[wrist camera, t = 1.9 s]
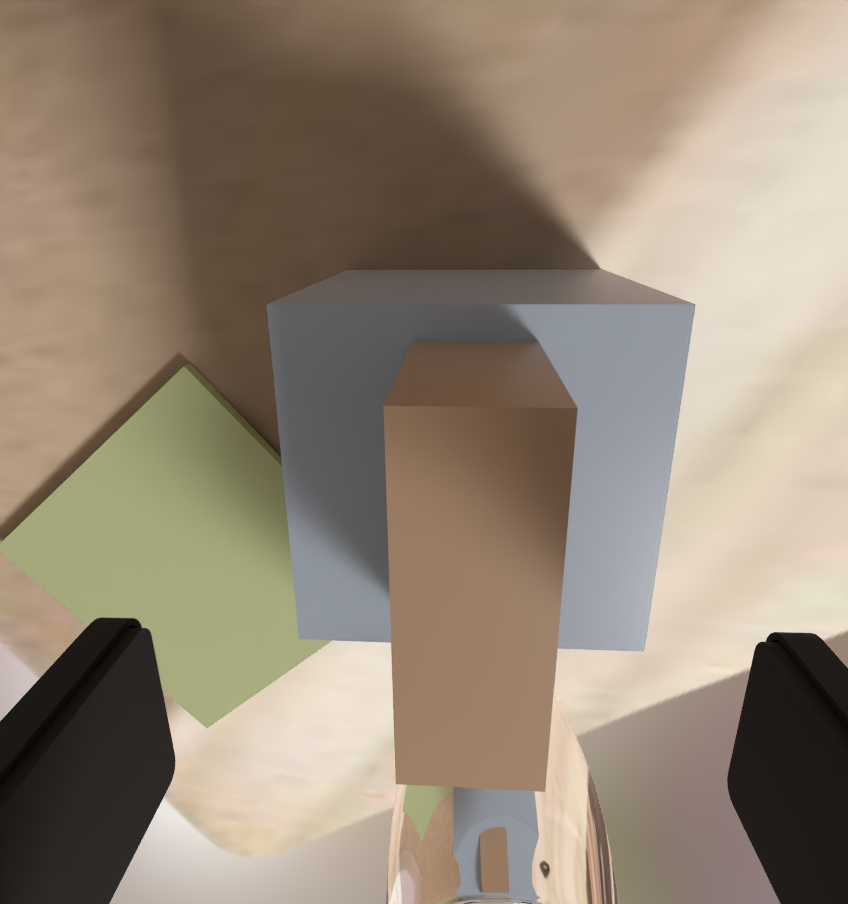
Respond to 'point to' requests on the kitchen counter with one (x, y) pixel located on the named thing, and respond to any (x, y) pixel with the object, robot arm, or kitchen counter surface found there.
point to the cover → (477, 489)
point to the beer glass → (505, 838)
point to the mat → (178, 546)
